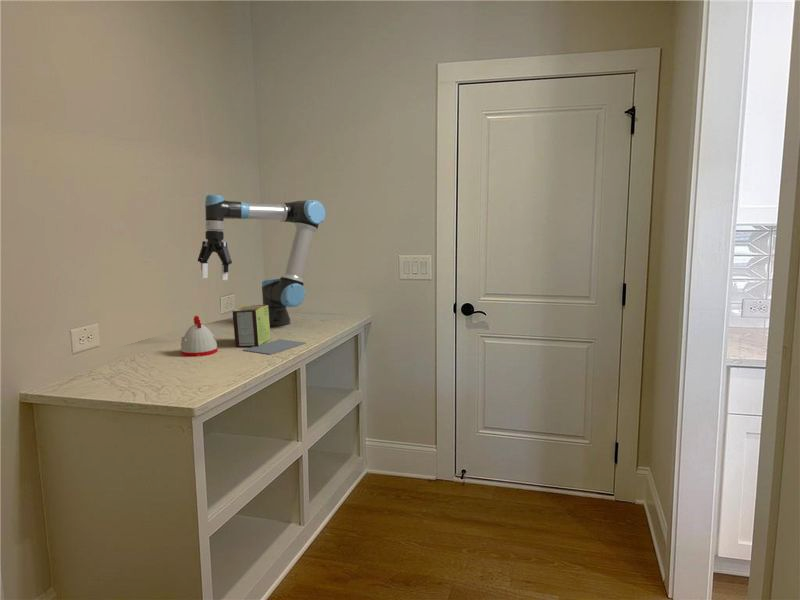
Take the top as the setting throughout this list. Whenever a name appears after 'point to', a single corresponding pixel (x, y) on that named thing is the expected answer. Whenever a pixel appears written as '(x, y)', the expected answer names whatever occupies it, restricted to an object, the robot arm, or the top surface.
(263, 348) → the slate rubber mat
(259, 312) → the protein box
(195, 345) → the kitchen timer
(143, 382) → the top surface
